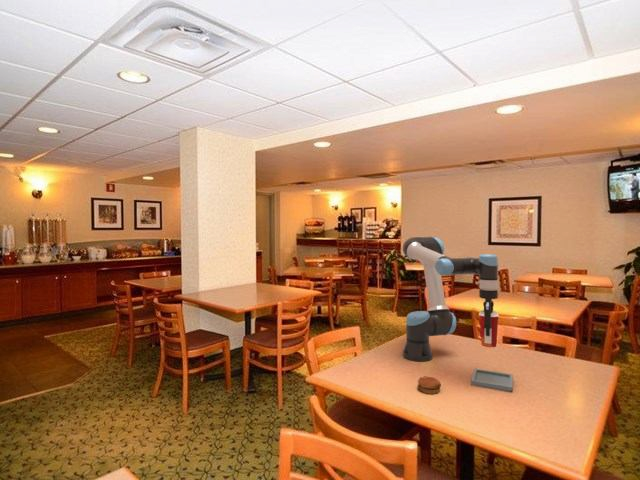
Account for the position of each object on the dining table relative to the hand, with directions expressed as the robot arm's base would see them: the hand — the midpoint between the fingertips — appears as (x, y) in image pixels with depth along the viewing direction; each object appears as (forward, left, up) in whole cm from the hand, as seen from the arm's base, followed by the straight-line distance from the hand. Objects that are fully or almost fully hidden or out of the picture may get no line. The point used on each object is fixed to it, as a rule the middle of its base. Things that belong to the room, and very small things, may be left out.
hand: (488, 340), depth 169 cm
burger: (+21, -22, -18) cm, 35 cm away
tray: (0, +2, -18) cm, 18 cm away
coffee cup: (0, 0, -2) cm, 2 cm away
